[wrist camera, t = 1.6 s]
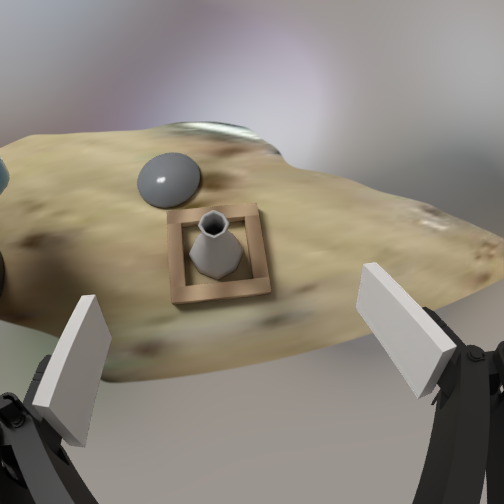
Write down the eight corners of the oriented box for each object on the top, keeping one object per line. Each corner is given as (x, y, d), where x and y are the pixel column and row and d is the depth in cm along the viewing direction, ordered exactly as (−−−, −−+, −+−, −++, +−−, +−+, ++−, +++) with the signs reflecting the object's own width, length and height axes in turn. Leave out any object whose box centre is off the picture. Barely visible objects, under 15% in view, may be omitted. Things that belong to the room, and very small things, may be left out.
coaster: (126, 195, 42) (125, 193, 42) (158, 148, 46) (157, 146, 45) (181, 217, 42) (180, 215, 41) (210, 165, 45) (210, 163, 45)
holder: (173, 304, 38) (171, 302, 36) (168, 216, 42) (166, 211, 40) (269, 293, 39) (271, 291, 38) (255, 207, 43) (256, 202, 42)
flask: (252, 251, 41) (261, 221, 32) (218, 289, 39) (216, 270, 30) (214, 219, 42) (212, 183, 33) (179, 255, 40) (166, 226, 31)
